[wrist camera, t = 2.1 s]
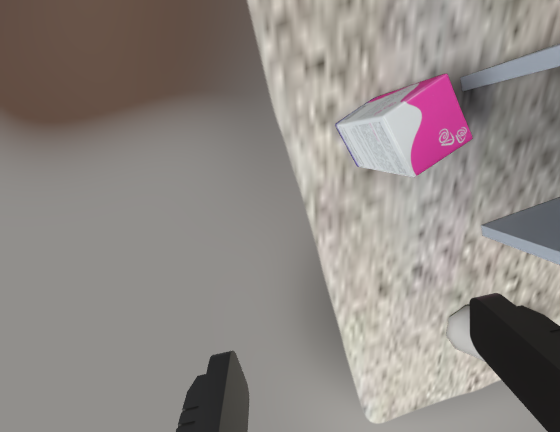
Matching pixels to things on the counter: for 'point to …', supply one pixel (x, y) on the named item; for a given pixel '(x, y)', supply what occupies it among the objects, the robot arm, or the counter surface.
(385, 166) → the supplement box
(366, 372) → the counter surface
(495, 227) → the shelf
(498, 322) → the robot arm
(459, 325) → the flask
